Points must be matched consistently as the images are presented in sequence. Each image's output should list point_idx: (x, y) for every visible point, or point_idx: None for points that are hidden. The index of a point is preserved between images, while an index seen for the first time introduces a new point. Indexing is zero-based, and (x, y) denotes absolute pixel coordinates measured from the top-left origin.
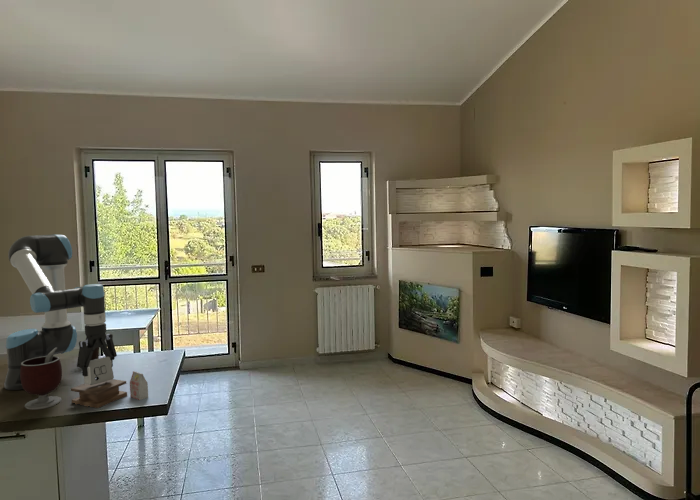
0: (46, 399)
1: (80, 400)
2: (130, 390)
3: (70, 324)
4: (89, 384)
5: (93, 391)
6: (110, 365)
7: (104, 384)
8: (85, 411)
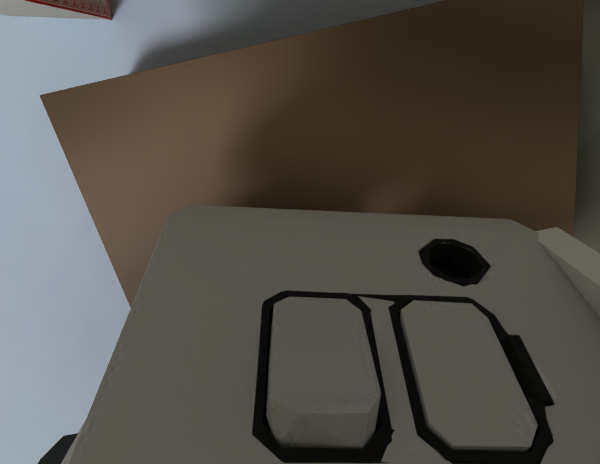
0: None
1: None
2: (78, 4)
3: None
4: (556, 227)
5: (559, 76)
6: (119, 406)
7: None
8: (584, 28)
